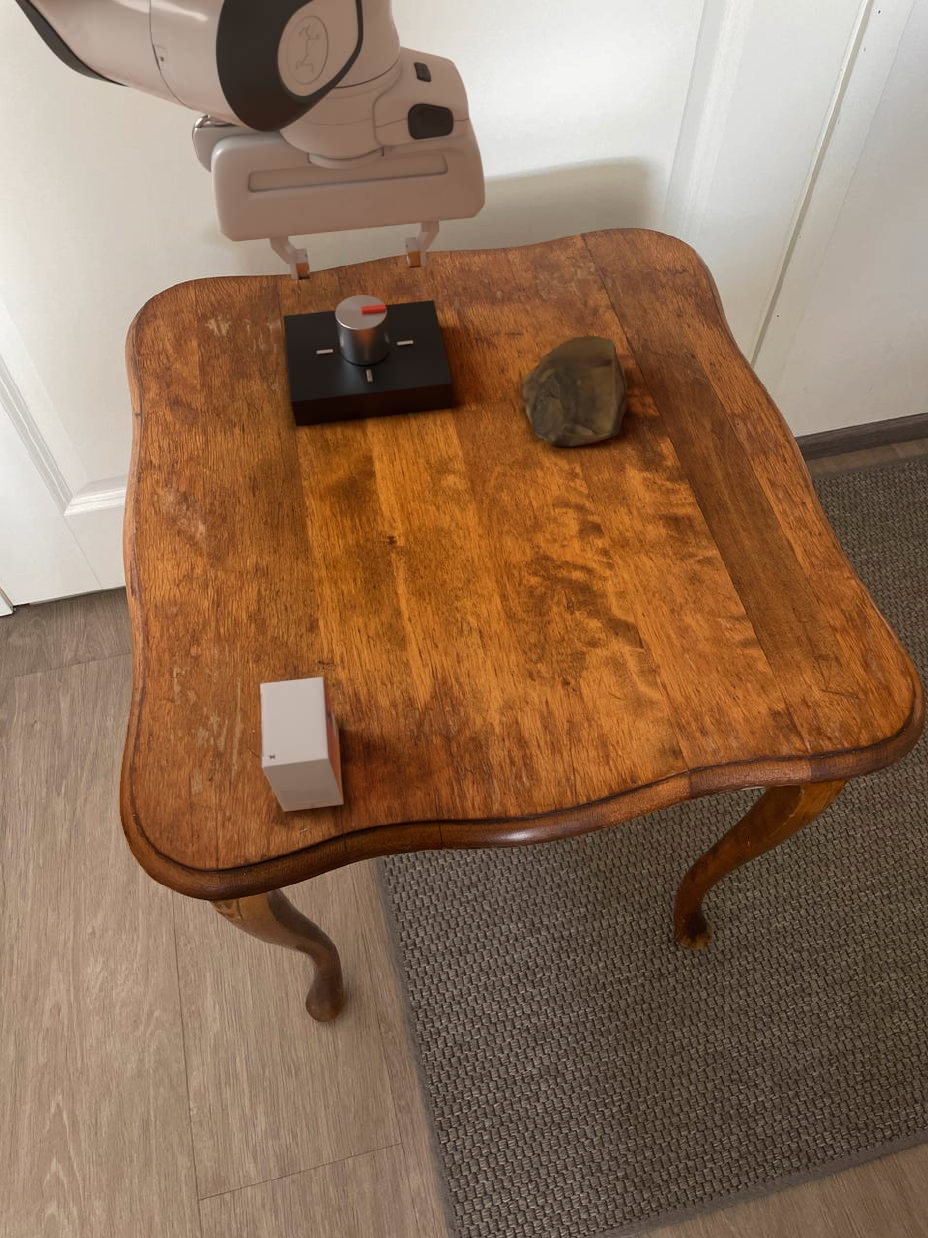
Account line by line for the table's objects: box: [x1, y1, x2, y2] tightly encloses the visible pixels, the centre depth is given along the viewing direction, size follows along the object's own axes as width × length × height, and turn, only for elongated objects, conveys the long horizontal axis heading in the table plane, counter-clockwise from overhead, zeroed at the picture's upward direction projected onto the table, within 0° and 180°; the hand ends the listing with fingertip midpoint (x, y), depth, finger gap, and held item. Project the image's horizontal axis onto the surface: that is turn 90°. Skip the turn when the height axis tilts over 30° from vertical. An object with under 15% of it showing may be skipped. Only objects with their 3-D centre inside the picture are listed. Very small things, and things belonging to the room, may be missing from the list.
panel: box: [282, 299, 453, 427], centre depth 82 cm, size 14×11×3 cm
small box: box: [259, 676, 345, 813], centre depth 60 cm, size 6×4×8 cm
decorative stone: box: [521, 335, 628, 448], centre depth 80 cm, size 10×9×4 cm
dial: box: [335, 294, 390, 365], centre depth 79 cm, size 4×4×4 cm
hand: (359, 268), depth 74 cm, fingers open, 8 cm apart
